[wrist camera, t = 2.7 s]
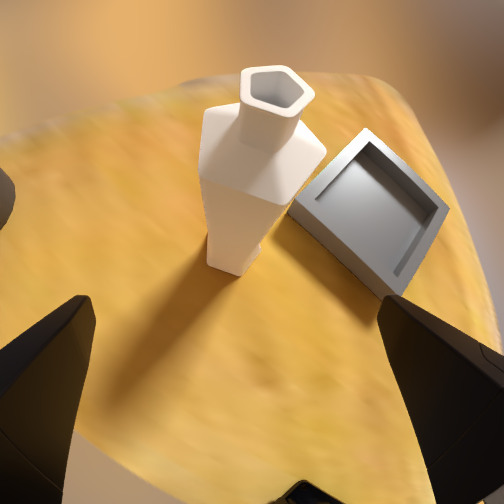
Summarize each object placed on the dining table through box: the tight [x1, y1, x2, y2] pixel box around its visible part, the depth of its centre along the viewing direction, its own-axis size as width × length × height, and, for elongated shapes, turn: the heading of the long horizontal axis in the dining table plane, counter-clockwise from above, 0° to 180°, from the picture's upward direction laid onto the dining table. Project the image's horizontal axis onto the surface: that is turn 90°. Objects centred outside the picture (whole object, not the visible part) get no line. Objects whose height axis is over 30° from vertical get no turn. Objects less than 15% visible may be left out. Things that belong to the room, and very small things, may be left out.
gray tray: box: [286, 127, 450, 301], centre depth 23 cm, size 10×10×2 cm
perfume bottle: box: [198, 65, 327, 276], centre depth 15 cm, size 5×4×15 cm
